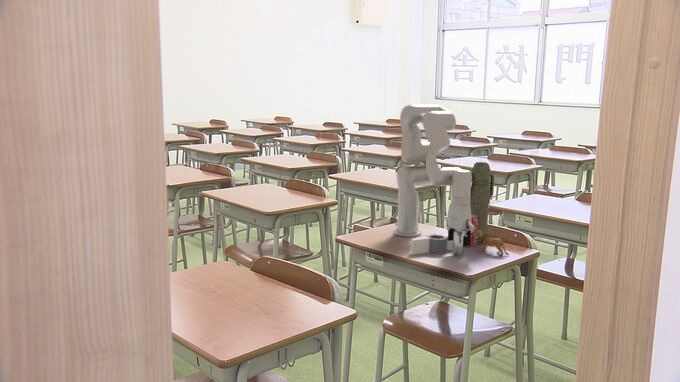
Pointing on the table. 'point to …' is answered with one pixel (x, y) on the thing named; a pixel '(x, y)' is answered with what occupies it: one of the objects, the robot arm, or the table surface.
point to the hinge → (431, 244)
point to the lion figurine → (488, 241)
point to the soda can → (475, 223)
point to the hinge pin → (458, 243)
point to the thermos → (481, 193)
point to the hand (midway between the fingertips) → (458, 243)
